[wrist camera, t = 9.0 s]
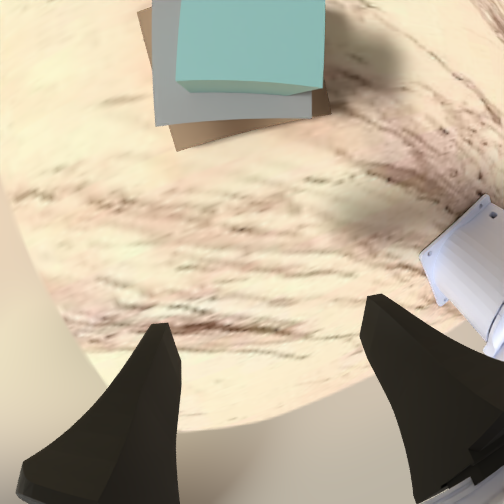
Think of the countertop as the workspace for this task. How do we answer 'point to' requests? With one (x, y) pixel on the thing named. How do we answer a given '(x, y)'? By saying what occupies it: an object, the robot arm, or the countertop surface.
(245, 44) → the teal block
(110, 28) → the countertop surface
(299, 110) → the grey square slab
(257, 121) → the walnut slab
